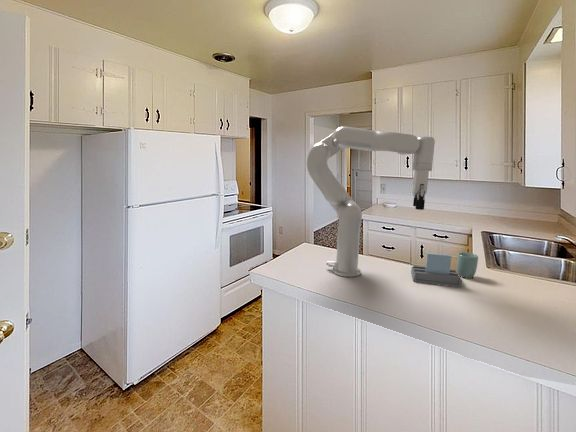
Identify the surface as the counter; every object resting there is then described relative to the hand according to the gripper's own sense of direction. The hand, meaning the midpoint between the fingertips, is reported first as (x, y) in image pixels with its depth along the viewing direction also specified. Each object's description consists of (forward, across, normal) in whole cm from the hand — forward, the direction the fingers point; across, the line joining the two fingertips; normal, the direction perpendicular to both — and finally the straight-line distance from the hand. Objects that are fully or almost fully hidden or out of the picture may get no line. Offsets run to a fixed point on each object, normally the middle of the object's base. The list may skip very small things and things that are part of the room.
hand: (418, 207), depth 133 cm
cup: (+30, -7, +23) cm, 39 cm away
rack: (+30, +2, +9) cm, 32 cm away
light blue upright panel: (+29, +4, +9) cm, 31 cm away
